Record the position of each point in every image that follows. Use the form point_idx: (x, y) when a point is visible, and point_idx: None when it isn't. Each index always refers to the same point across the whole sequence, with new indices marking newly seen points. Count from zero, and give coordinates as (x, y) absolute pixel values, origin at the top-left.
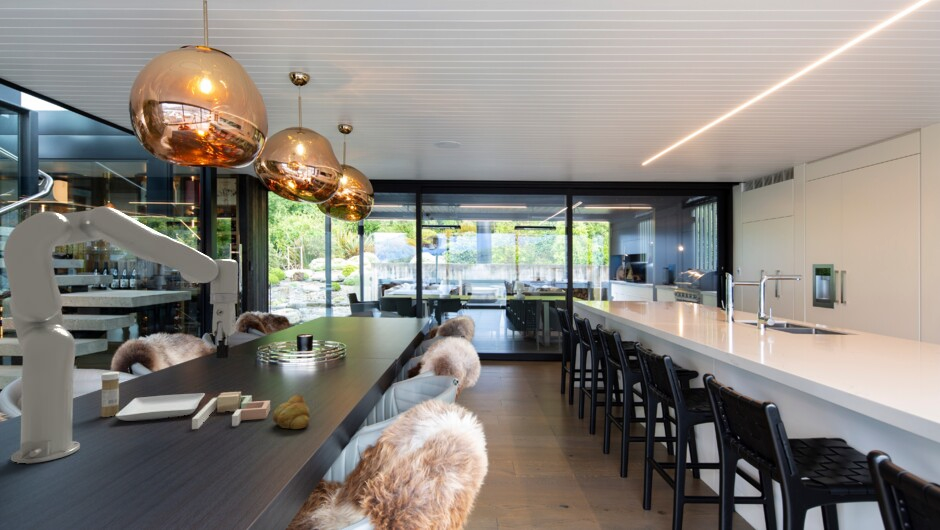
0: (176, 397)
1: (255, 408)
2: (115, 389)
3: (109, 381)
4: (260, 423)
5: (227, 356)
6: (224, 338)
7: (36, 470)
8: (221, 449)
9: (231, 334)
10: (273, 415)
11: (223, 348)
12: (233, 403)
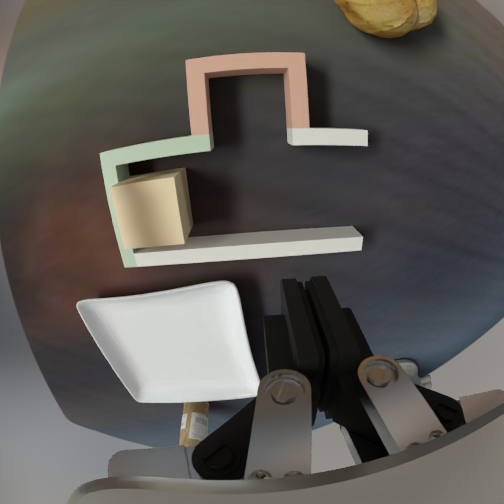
0: (109, 348)
1: (295, 85)
2: (197, 438)
3: None
4: (346, 70)
5: (326, 281)
6: (452, 417)
7: (437, 356)
8: (481, 148)
9: (489, 420)
10: (399, 35)
11: (366, 353)
12: (181, 185)
